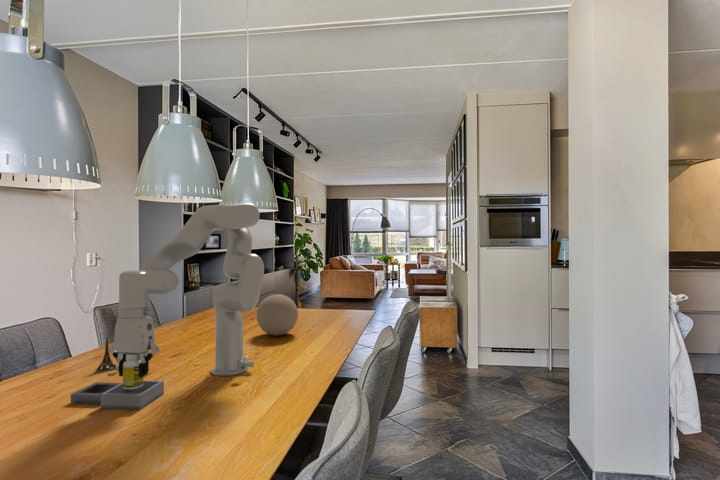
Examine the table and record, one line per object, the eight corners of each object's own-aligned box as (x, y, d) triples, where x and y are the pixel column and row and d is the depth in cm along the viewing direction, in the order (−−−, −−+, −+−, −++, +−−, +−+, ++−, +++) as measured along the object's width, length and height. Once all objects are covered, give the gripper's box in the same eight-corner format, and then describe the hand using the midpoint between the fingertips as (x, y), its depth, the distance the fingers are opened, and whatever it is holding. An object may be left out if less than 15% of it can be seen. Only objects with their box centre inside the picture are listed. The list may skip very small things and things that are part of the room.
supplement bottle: (134, 390, 116) (134, 356, 116) (118, 389, 117) (118, 355, 117) (148, 384, 121) (148, 351, 121) (132, 383, 122) (132, 350, 122)
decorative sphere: (259, 330, 210) (259, 292, 210) (298, 330, 213) (298, 291, 212) (253, 340, 190) (253, 297, 190) (296, 339, 193) (297, 297, 193)
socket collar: (126, 391, 127) (126, 383, 127) (103, 404, 117) (103, 395, 117) (95, 390, 127) (95, 382, 127) (70, 403, 117) (70, 394, 117)
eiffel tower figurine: (113, 377, 141) (113, 338, 141) (81, 378, 140) (81, 339, 140) (131, 364, 156) (131, 329, 156) (103, 365, 155) (103, 329, 155)
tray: (163, 394, 125) (163, 380, 125) (140, 409, 113) (140, 395, 113) (127, 392, 125) (127, 379, 125) (100, 408, 114) (100, 394, 114)
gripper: (169, 311, 122) (168, 372, 122) (114, 310, 124) (114, 370, 124) (154, 316, 115) (154, 380, 115) (96, 315, 116) (96, 378, 116)
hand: (133, 374), depth 119 cm, fingers closed on supplement bottle, 5 cm apart
